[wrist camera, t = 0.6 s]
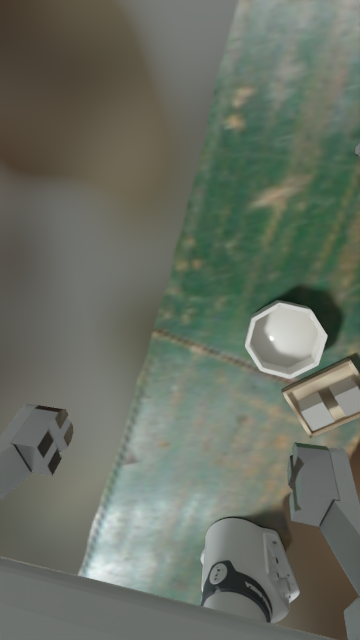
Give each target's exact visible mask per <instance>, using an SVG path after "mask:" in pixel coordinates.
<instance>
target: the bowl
mask: <svg viewBox="0 0 360 640" xmlns="http://www.w3.org/2000/svg"><path fill="white" fill-rule="evenodd" d="M326 340H327V334H326V333H325V331H324V329H323V328H322V326H321V325H320V323H319V321H318V320H317V318H316V317H315V315H314V313H313V312H312V310H311V309H310V308H309V307H308V306H304V305H299V304H296V303H293V302H286V301H281V300H276V301H275V302H273V303H271V304H269V305H267V306H265V307H263V308H262V309H260V310H259V311H257V312H256V313H254V314H253V315H252V317H251V321H250V325H249V329H248V333H247V337H246V341H245V347H246V349H247V351H248V352H249V354H250V355H251V357H252V358H253V360H254V362H255V363H256V365H257V366H258V368H259V370H261V371H263V372H266V373H270V374H274V375H278V376H281V377H285V378H289V379H290V378H293V377H295V376H297V375H299V374H301V373H303V372H305V371H307V370H309V369H311V368H313V367H315V366H317V365H319V361H320V358H321V355H322V352H323V349H324V346H325V343H326Z"/></svg>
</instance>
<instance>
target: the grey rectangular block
mask: <svg viewBox="0 0 360 640" xmlns="http://www.w3.org/2000/svg"><path fill="white" fill-rule="evenodd" d="M328 387H329V389H330V391H331V392H332V394H333V396H334V398H335V399H336V401H337V402H338V404H339V406H340V407H341V409H342V410H343V412H344V414H345V415H346V417H347V416H349V415H352V414H354V413H356V412H359V411H360V390H359V388H358V386H357V385H356V384H355V382H354V381H353V380H352V379H351V377H350V376H349V377H347V378H345V379H343V380H341V381H339V382H336V383H334V384H332V385H330V386H328Z"/></svg>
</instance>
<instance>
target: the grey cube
mask: <svg viewBox="0 0 360 640" xmlns="http://www.w3.org/2000/svg"><path fill="white" fill-rule="evenodd" d="M298 404H299V408H300V411H301V413H302V415H303V416H304V418H305V419H306V421H307V423H308V424H309V426H310V427H311V429H312V431H314V430H317V429H319V428H321V427H324V426H326V425H328V424H331V423H333V422H335V421H334V419H333V417H332V414H331V412H330V410H329V409H328V407H327V405H326V404H325V402H324V401H323V399H322V397H321V396H320V394H319V393H318V391H317V392H315V393H313V394H311V395H309V396H306V397H304V398H302V399H300V400H298Z"/></svg>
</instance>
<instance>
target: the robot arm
mask: <svg viewBox="0 0 360 640" xmlns="http://www.w3.org/2000/svg"><path fill="white" fill-rule="evenodd" d="M67 416H68V413H67V411H66V409H60V408H54V407H48V406H41V405H36V404H28V403H27V404H25V405H24V406H23V407H22V408H21V409H20V411H19V412H18V413H17V415H16V416H15V417H14V419H13V420H12V421H11V423H10V424H9V425H8V427H7V428H6V430H5V431H4V432H3V434H2V435H1V437H0V501H1V500H2V499H3V498H4V497H5V496H6V495H7V494H9V493H10V492H11V491H12V490H13V489H14V488H16V487H17V486H18V485H19V484H20V483H21V482H23V481H24V480H25V479H26V478H27V477H28V476H29V475H30V474H31V472H33V473H39V474H45V475H51V476H53V474H54V472H55V470H56V468H57V466H58V464H59V463H60V460H61V458H62V457H61V452H62V451H63V450H64V449H66V448H67V447H68V445H69V443H70V441H71V439H72V435H73V425H72V423H71V422H70V421H69V420H68V419H67ZM292 452H293V455H291V456H290V457H289V461H288V470H287V471H288V485H289V487H290V488H291V489H292V492H291V495H290V498H289V502H290V513H291V521H294V522H299V523H304V524H308V525H313V526H317V527H320V528H319V529H320V531H321V532H322V534H323V536H324V537H325V539H326V541H327V543H328V544H329V546H330V548H331V549H332V551H333V552H334V554H335V556H336V558H337V559H338V561H339V563H340V565H341V566H342V568H343V569H344V571H345V573H346V575H347V576H348V578H349V580H350V581H351V583H352V585H353V586H354V588H355V590H356V592H357V593H358V595H359V597H358V598H357V599H356V600H355V601H354V602H353V603H352V604H351V605H350V606H349V607H348V608H347V609H346V610H345V611H344V617H345V623H346V630H347V636H348V640H360V503H359V499H358V495H357V491H356V488H355V483H354V480H353V476H352V472H351V468H350V464H349V459H348V456H347V453H346V451H345V450H343V449H337V448H330V447H325V446H317V445H310V444H302V443H294V444H293V447H292ZM274 541H275V542H274ZM201 562H202V564H203V575H202V592H203V593H202V596H201V606H199V605H195V604H191V603H187V602H183V601H179V600H175V599H171V598H167V597H163V596H158V595H154V594H150V593H146V592H142V591H138V590H134V589H130V588H126V587H122V586H118V585H114V584H110V583H106V582H102V581H98V580H94V579H90V578H86V577H82V576H78V575H73V574H70V573H65V572H61V571H57V570H53V569H49V568H45V567H41V566H37V565H33V564H29V563H25V562H21V561H17V560H13V559H9V558H5V557H0V640H336V639H332V638H328V637H324V636H320V635H316V634H312V633H308V632H304V631H300V630H296V629H292V628H288V627H283V626H280V625H276V624H272V623H275V622H278V621H280V620H281V619H283V618H284V617H285V616H286V615H287V613H288V611H289V602H291V601H293V600H294V599H295V598H296V597H297V596H298V595H299V593H300V588H299V585H298V582H297V580H296V577H295V575H294V572H293V570H292V568H291V565H290V562H289V560H288V557H287V555H286V552H285V550H284V547H283V545H282V542H281V540H280V537H279V535H278V533H277V532H276V531H274V530H271V529H266V528H261V527H259V526H257V525H255V524H253V523H251V522H249V521H246V520H243V519H238V518H227V519H223V520H220V521H218V522H216V523H214V524H213V525H212V526H211V527H210V528H209V530H208V531H207V534H206V537H205V548H204V550H203V551H202V554H201Z"/></svg>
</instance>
